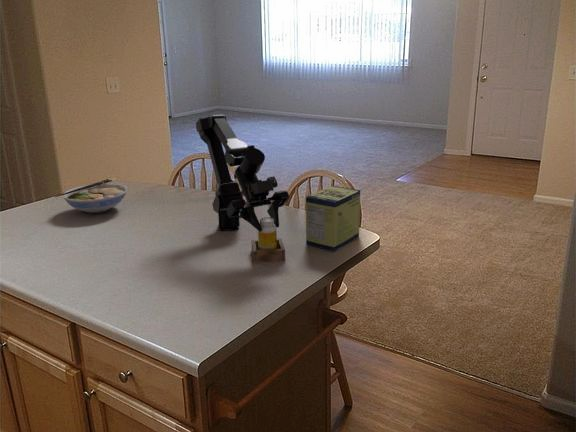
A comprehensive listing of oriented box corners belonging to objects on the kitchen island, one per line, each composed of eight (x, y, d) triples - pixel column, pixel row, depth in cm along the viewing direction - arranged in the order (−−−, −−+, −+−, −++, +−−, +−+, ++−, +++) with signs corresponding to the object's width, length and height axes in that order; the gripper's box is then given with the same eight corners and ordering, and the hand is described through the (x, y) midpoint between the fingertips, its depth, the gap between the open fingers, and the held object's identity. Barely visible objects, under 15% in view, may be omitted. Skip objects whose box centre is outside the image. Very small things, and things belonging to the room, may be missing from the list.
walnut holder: (253, 262, 150) (253, 251, 148) (251, 250, 158) (251, 240, 157) (285, 260, 151) (285, 249, 150) (281, 248, 159) (281, 238, 158)
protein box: (359, 236, 168) (361, 189, 163) (334, 252, 156) (335, 202, 151) (331, 230, 174) (332, 184, 169) (305, 244, 162) (304, 196, 157)
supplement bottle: (257, 247, 156) (256, 217, 153) (274, 246, 157) (274, 215, 154) (260, 254, 151) (259, 223, 148) (278, 253, 152) (277, 221, 149)
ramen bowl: (90, 225, 181) (87, 202, 179) (49, 214, 193) (45, 193, 190) (144, 206, 201) (142, 185, 199) (104, 197, 213) (101, 177, 210)
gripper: (229, 173, 144) (250, 222, 139) (286, 163, 154) (307, 209, 149) (217, 193, 153) (237, 240, 148) (272, 183, 163) (292, 227, 158)
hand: (269, 229), depth 151 cm, fingers open, 5 cm apart
